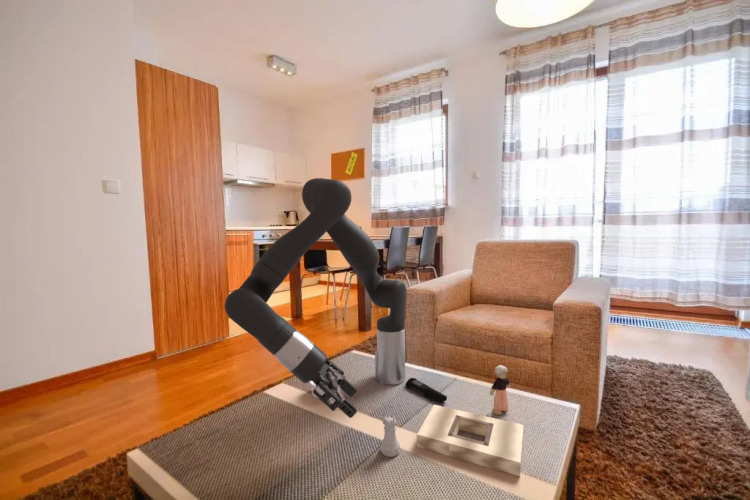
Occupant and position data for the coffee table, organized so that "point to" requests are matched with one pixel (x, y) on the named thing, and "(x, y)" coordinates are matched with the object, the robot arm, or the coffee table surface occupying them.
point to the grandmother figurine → (500, 390)
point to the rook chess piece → (390, 437)
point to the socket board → (494, 453)
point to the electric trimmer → (426, 390)
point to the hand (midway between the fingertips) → (354, 403)
